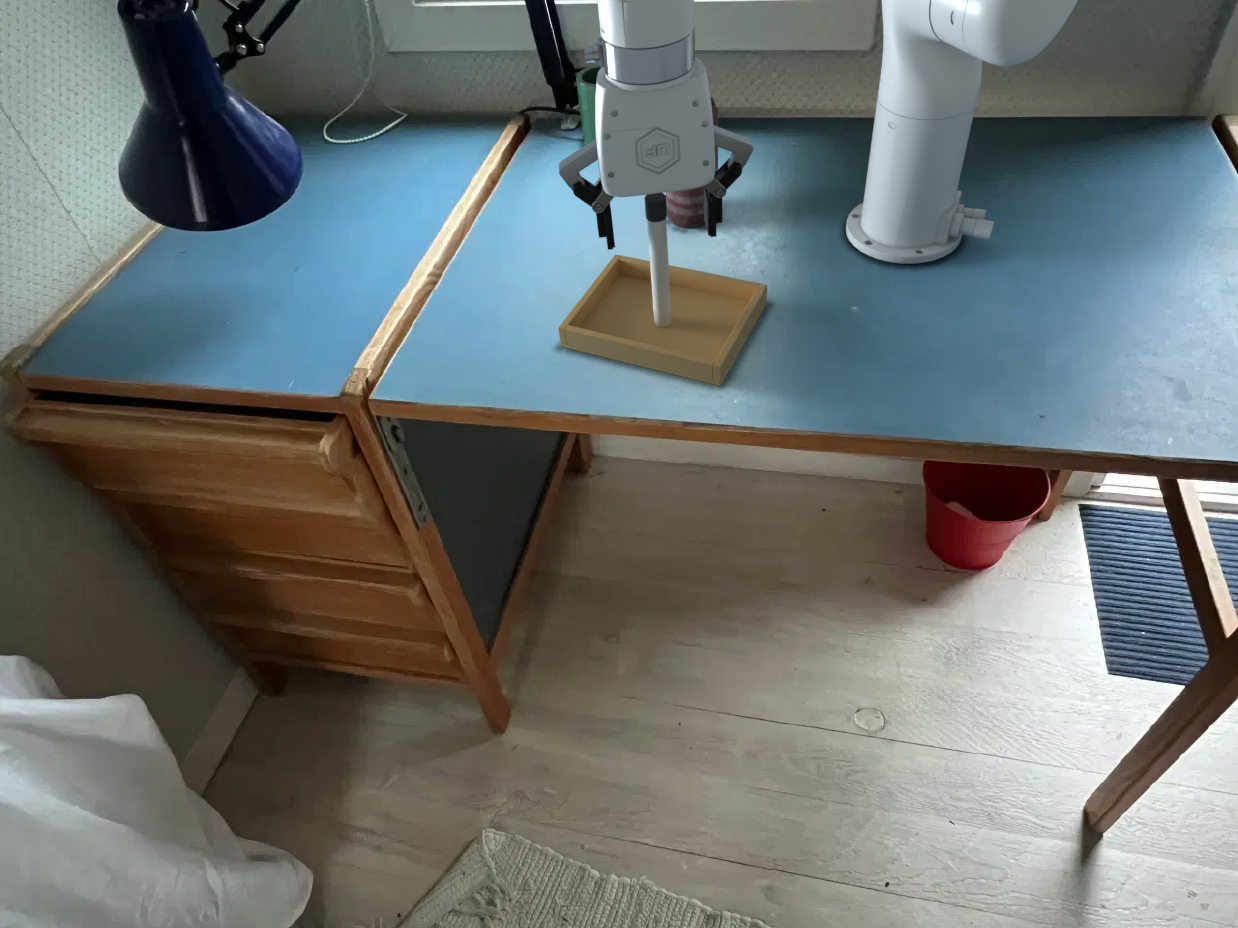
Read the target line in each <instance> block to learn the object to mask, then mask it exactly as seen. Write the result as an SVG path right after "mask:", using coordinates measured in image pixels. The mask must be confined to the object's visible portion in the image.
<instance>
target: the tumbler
mask: <svg viewBox="0 0 1238 928" xmlns="http://www.w3.org/2000/svg"><path fill="white" fill-rule="evenodd" d="M600 69H601V67H600V64H594V65H590V66H588V67H585V68H583V69H581V70H580V71H579V72H578V73H577V74H576V79H575V80H576V89H577V96H578V106H579V113H580V121H581V130H582V139H583V143H584V146H585V145H587V144H588V143H590V142H591V141H593V140H594V139H596V125H595V94H596V82H597V74H598V71H599V70H600Z"/></svg>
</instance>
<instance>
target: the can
mask: <svg viewBox="0 0 1238 928" xmlns="http://www.w3.org/2000/svg"><path fill="white" fill-rule="evenodd" d="M711 105H712V115H713V125H715V126H717V127H719V108H718V106H717V105H716V102H715V99H714V98H713V97H712V96H711ZM715 168H716V169H717V170H718V169H719V147H717V146H715ZM665 195H666V204H667V219H669V220H670V222H671V223H672V224H673V225H674V226H676V227H678V228H683V229H693V230H694V229H700V228H703V227H706V225H705V221H704V186H702V187H699V188H694V189H687V190H680V191H672V192H665Z"/></svg>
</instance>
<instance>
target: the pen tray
mask: <svg viewBox="0 0 1238 928" xmlns="http://www.w3.org/2000/svg"><path fill="white" fill-rule="evenodd" d="M669 283H670V302H671V324H670V325H669V326H667V327H658V326H656V325H655V323H654V311H653V297H652V283H651V269H650V260H646V259H641V258H635V257H631V256H626V255H621V254H616V253H615V254H614V255H613V256H612V258H611V259H610V260H609V261H608V263H607V264H606V265H605V266H604V267H603V269H602V270H601V272H600V273H599V275H598V276H597V277H595V280H594V281H593V282H592V283H591V285H590V286H589V287H588V288H587V290H586V291H585V293H584V294H583V295H582V296H581V297H580V299H579V300H578V301H577V302H576V304H575V305H574V306H573V308H572V309H571V311H569V313H567V316H566V317H565V318H564V319H563V320H562V322H561V323H560V324H559V325H558V327H557V330H558V336H559V342H560V347H561V348H565V349H569V350H573V351H577V352H580V353H581V352H582V353H586V354H589V355H594V356H597V357H601V358H606V359H610V360H614V361H618V362H622V363H626V364H630V365H634V366H637V367H641V368H646V369H650V370H654V371H658V372H661V373H666V374H670V375H674V376H677V377H682V378H686V379H690V380H695V381H699V382H702V383H706V384H711V385H715V386H719V387H721V386H722V384H723V382H724V381H725V379H726V377H727V375H728V373H729V371H730V370H731V369H732V366H733V365H734V363H735V361H736V360H737V357H738V356H739V353H740V352H741V350H742V349H743V346H744V345H745V343H746V342H747V339H748V338H749V336H750V334H751V332H752V331H753V329H754V327H755V325H756V324H757V322H758V320H759V318H760V317H761V314H762V312H763V311H764V309H765V307H766V305H767V299H768V284H765V283H760V282H755V281H751V280H745V279H741V278H735V277H731V276H726V275H720V274H717V273H716V274H715V273H710V272H705V271H700V270H697V269H692V268H686V267H681V266H675V265H672V264H671V265H670V264H669Z"/></svg>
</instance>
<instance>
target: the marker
mask: <svg viewBox="0 0 1238 928" xmlns="http://www.w3.org/2000/svg"><path fill="white" fill-rule="evenodd" d="M644 211H645V212H644V213H645V219H646V224H647V239H648V241H647V242H648V254H649V261H650V269H651V283H652V297H653V311H654V323H655V325H656V326H658V327H667V326H669V325H670V324H671V302H670V283H669V265H670V264H669V249H668V247H669V246H668V228H667V218H668V216H667V204H666V193H656V194H648V195H644Z"/></svg>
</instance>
